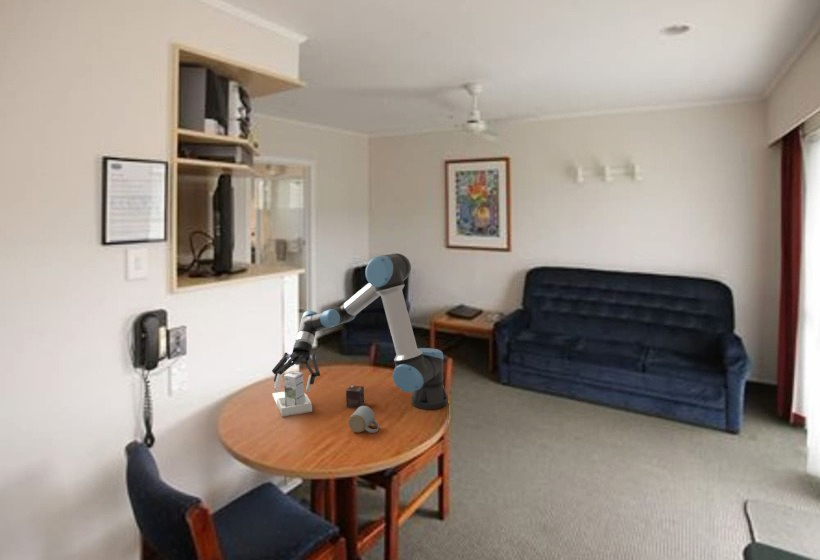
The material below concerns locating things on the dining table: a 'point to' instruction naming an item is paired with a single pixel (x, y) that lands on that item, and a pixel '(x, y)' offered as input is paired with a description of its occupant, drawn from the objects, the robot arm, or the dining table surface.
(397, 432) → the dining table surface
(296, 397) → the syrup box
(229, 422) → the dining table surface
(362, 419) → the ceramic mug
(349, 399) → the box
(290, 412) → the mailer
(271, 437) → the dining table surface
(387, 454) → the dining table surface
